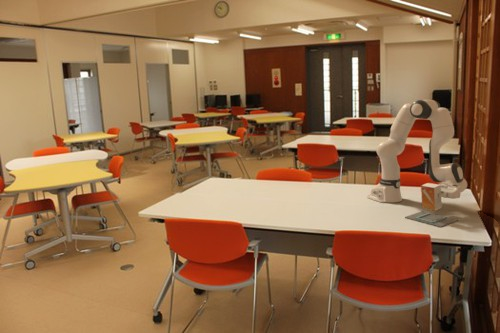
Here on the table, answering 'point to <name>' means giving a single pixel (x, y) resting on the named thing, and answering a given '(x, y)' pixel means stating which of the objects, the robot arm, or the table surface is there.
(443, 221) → the plate
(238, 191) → the table surface
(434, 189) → the small box
